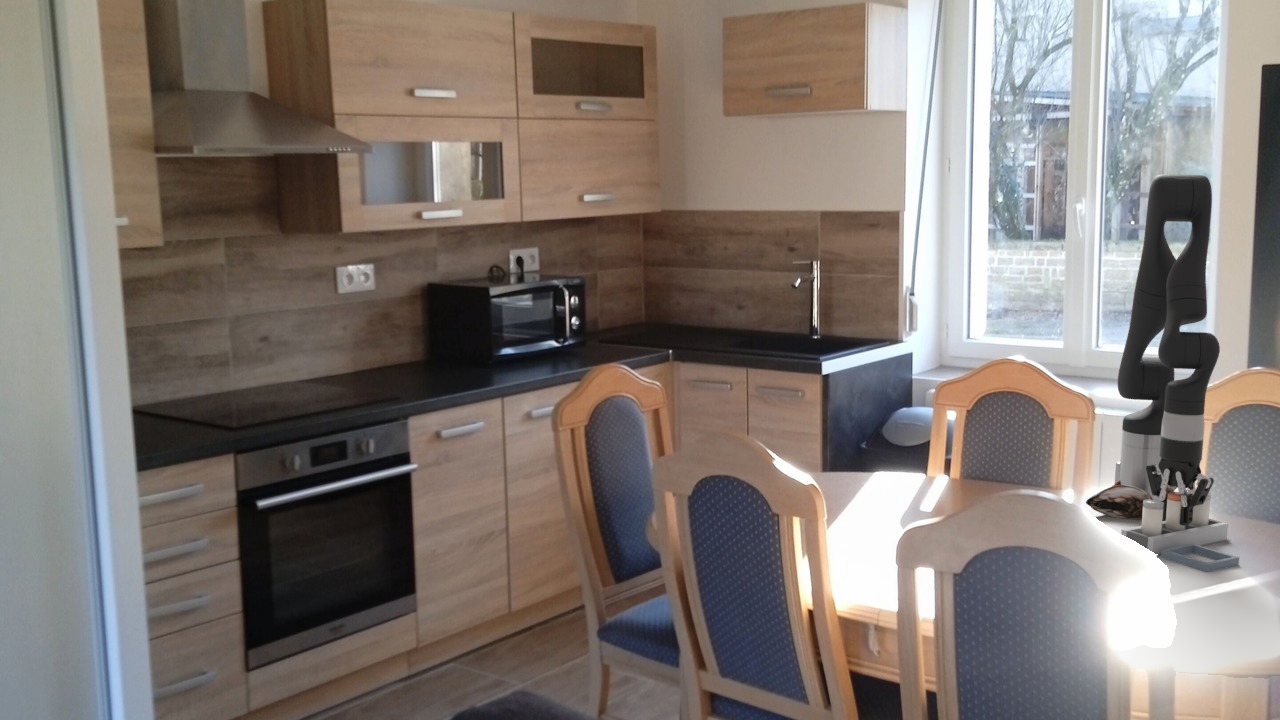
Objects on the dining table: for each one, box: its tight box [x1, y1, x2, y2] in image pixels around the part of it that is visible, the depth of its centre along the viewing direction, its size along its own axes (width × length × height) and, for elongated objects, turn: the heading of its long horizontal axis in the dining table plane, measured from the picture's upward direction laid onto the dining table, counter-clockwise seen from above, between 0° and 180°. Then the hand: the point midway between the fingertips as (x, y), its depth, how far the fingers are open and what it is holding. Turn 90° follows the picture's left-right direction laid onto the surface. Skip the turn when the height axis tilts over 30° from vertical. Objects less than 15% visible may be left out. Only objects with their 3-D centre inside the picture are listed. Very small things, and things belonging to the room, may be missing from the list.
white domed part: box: [1190, 492, 1212, 527], centre depth 245 cm, size 4×4×9 cm
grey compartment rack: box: [1120, 518, 1231, 557], centre depth 242 cm, size 8×23×4 cm, turn 120°
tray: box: [1160, 544, 1240, 573], centre depth 230 cm, size 10×9×3 cm
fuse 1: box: [1140, 499, 1164, 537], centre depth 238 cm, size 4×4×9 cm
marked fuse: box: [1165, 491, 1186, 532], centre depth 241 cm, size 4×4×9 cm
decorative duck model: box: [1085, 480, 1166, 521], centre depth 258 cm, size 15×8×15 cm
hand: (1175, 521), depth 241 cm, fingers closed on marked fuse, 3 cm apart
